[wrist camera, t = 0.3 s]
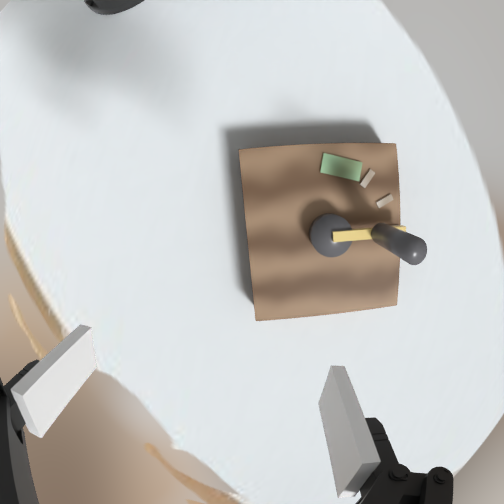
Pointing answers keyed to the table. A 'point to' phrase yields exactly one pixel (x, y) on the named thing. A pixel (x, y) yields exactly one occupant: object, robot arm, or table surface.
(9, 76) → the table surface
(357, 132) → the table surface
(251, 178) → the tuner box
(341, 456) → the robot arm
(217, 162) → the table surface
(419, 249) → the dark grey lever
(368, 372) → the table surface
